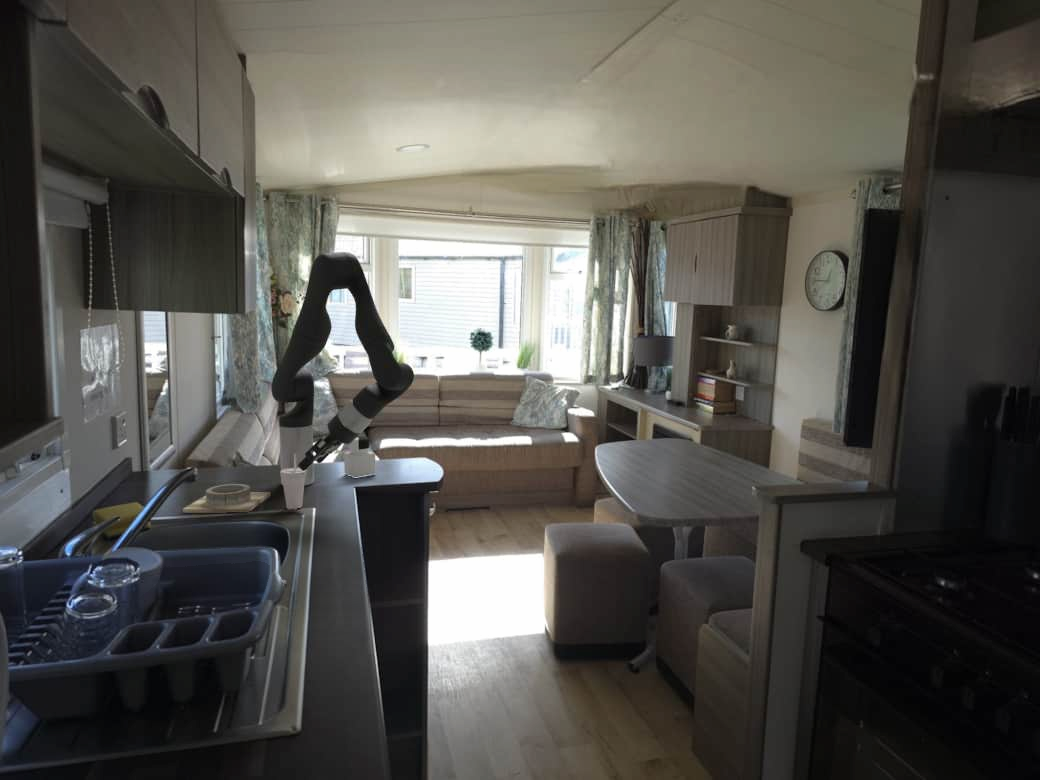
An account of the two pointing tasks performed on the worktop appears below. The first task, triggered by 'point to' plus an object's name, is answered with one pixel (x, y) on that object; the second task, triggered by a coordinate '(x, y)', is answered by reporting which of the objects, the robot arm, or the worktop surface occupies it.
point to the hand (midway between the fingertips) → (309, 464)
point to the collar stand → (227, 500)
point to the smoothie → (293, 486)
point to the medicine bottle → (359, 458)
